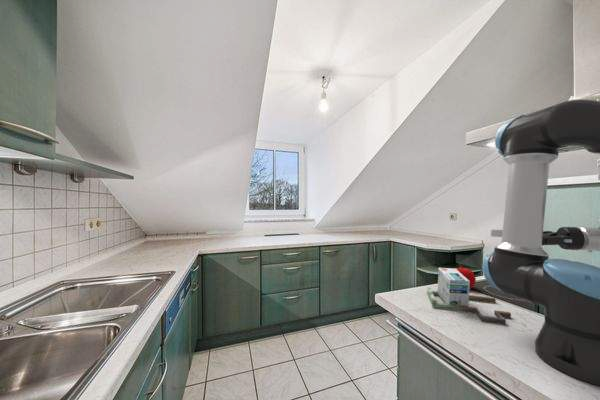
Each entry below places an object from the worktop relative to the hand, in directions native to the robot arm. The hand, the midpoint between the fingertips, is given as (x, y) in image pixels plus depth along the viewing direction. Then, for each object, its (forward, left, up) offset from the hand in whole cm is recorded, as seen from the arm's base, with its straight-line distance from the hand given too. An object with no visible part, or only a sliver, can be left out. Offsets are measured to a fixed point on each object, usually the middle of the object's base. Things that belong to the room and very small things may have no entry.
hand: (498, 235), depth 85 cm
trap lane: (-2, +11, -26) cm, 28 cm away
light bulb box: (-2, +15, -25) cm, 29 cm away
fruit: (+18, +7, -26) cm, 32 cm away
